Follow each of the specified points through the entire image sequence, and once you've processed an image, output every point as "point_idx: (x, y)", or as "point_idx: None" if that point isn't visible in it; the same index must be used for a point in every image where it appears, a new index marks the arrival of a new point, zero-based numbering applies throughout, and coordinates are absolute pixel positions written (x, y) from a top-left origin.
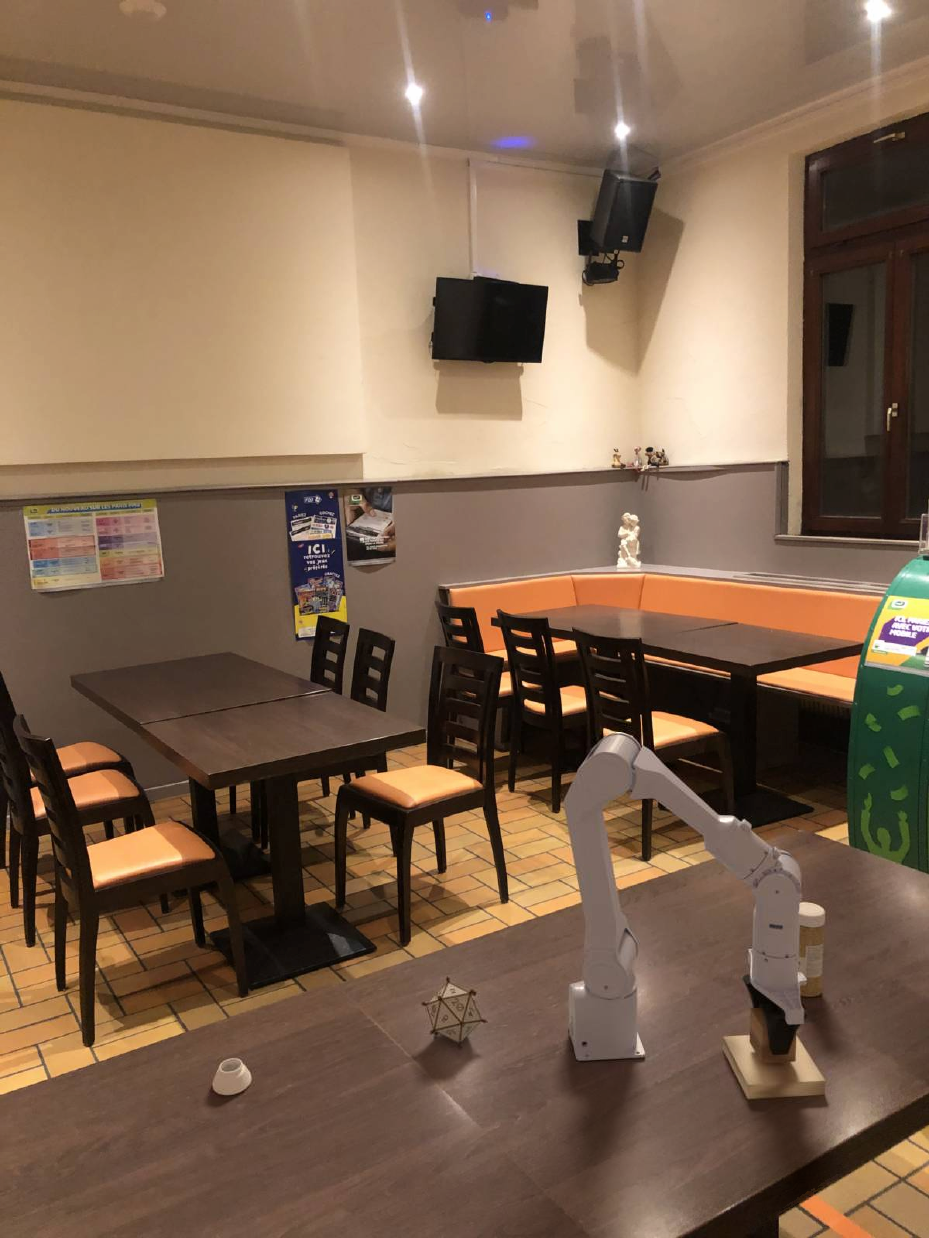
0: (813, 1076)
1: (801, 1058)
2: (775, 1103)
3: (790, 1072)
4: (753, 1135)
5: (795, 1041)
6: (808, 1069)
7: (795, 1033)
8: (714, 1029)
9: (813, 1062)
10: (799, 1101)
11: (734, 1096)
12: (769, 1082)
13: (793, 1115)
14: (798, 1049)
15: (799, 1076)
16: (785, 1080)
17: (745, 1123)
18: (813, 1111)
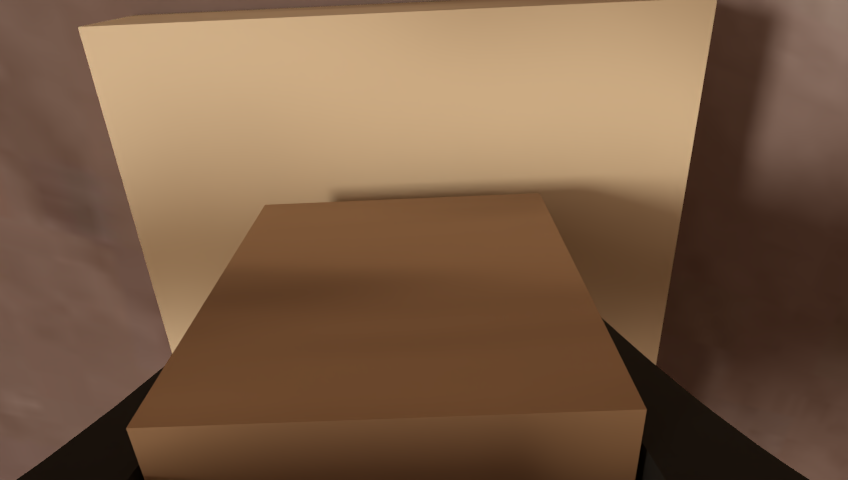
0: (648, 75)
1: (431, 93)
2: (672, 298)
3: (575, 222)
4: (840, 437)
5: (586, 290)
6: (567, 86)
7: (614, 352)
8: (60, 416)
9: (484, 9)
10: (688, 174)
11: None
12: None
13: (782, 241)
14: (314, 75)
15: (626, 177)
16: (647, 277)
17: (761, 447)
18: (789, 124)
